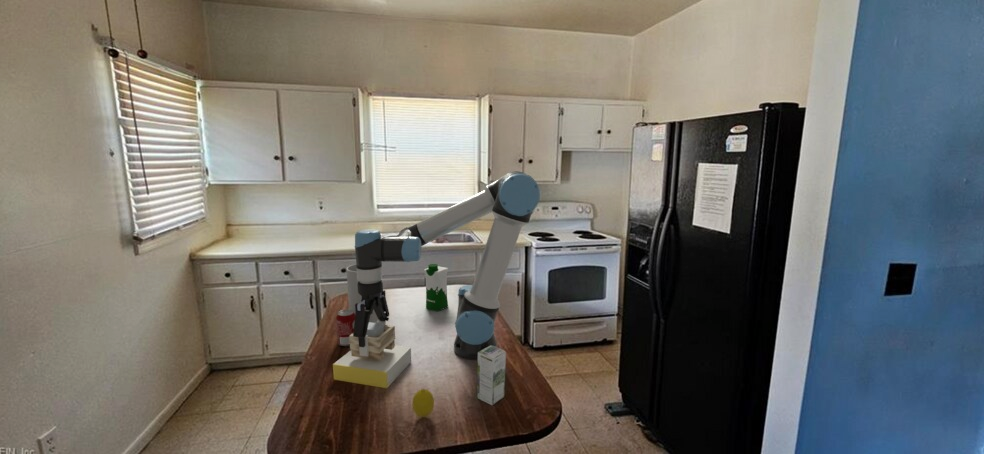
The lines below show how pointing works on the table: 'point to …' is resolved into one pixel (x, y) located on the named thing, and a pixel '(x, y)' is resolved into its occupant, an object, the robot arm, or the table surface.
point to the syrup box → (491, 374)
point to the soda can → (345, 326)
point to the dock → (373, 367)
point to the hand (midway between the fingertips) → (373, 347)
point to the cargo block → (375, 329)
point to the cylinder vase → (356, 292)
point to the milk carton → (436, 287)
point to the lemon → (423, 403)
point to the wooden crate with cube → (375, 344)
